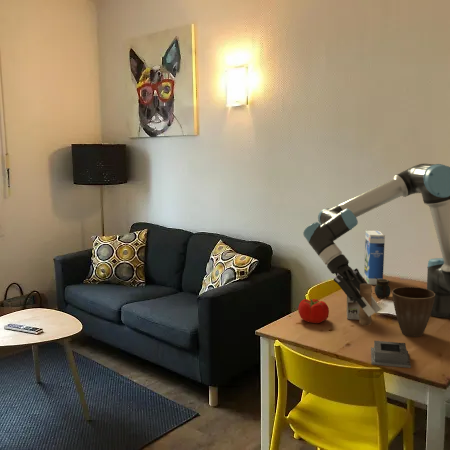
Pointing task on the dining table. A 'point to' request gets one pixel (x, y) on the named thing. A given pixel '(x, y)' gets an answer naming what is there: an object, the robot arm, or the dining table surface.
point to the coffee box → (353, 308)
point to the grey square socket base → (390, 354)
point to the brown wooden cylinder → (366, 293)
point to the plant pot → (413, 309)
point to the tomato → (313, 310)
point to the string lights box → (374, 256)
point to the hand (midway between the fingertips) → (375, 312)
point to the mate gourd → (382, 288)
